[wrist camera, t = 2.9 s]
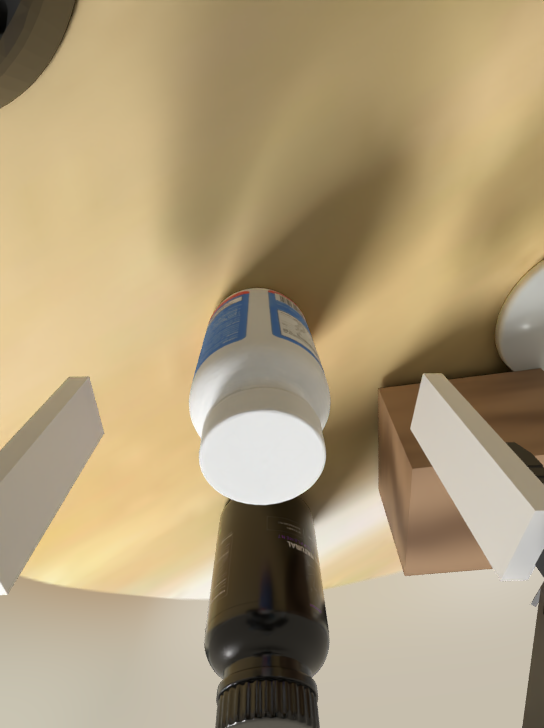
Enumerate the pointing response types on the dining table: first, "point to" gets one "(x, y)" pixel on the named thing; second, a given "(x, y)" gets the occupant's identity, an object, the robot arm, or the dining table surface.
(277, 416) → the pill bottle
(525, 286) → the grey coaster
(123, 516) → the dining table surface
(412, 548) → the walnut block
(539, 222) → the dining table surface
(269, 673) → the supplement bottle
